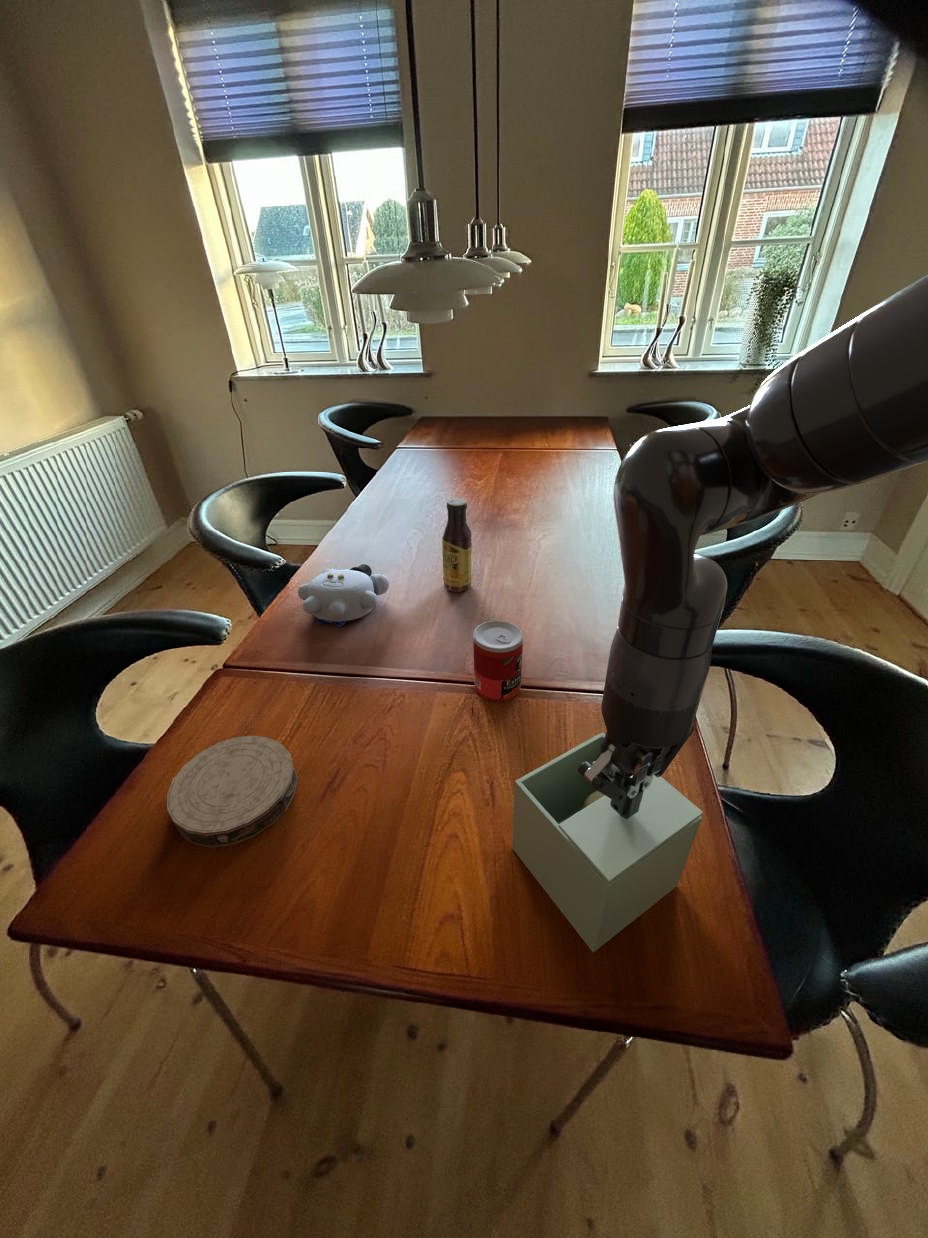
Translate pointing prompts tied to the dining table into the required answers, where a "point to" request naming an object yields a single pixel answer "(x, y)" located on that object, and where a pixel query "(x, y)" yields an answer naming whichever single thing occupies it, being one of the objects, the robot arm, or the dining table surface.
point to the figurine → (342, 594)
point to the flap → (629, 828)
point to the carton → (567, 870)
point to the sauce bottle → (457, 548)
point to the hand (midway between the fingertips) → (624, 809)
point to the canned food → (497, 660)
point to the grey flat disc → (232, 791)
